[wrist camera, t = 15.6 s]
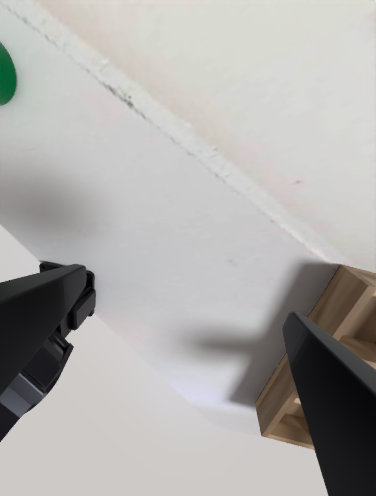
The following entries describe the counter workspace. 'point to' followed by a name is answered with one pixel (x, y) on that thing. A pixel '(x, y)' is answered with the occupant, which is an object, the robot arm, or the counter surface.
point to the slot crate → (339, 327)
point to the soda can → (7, 76)
